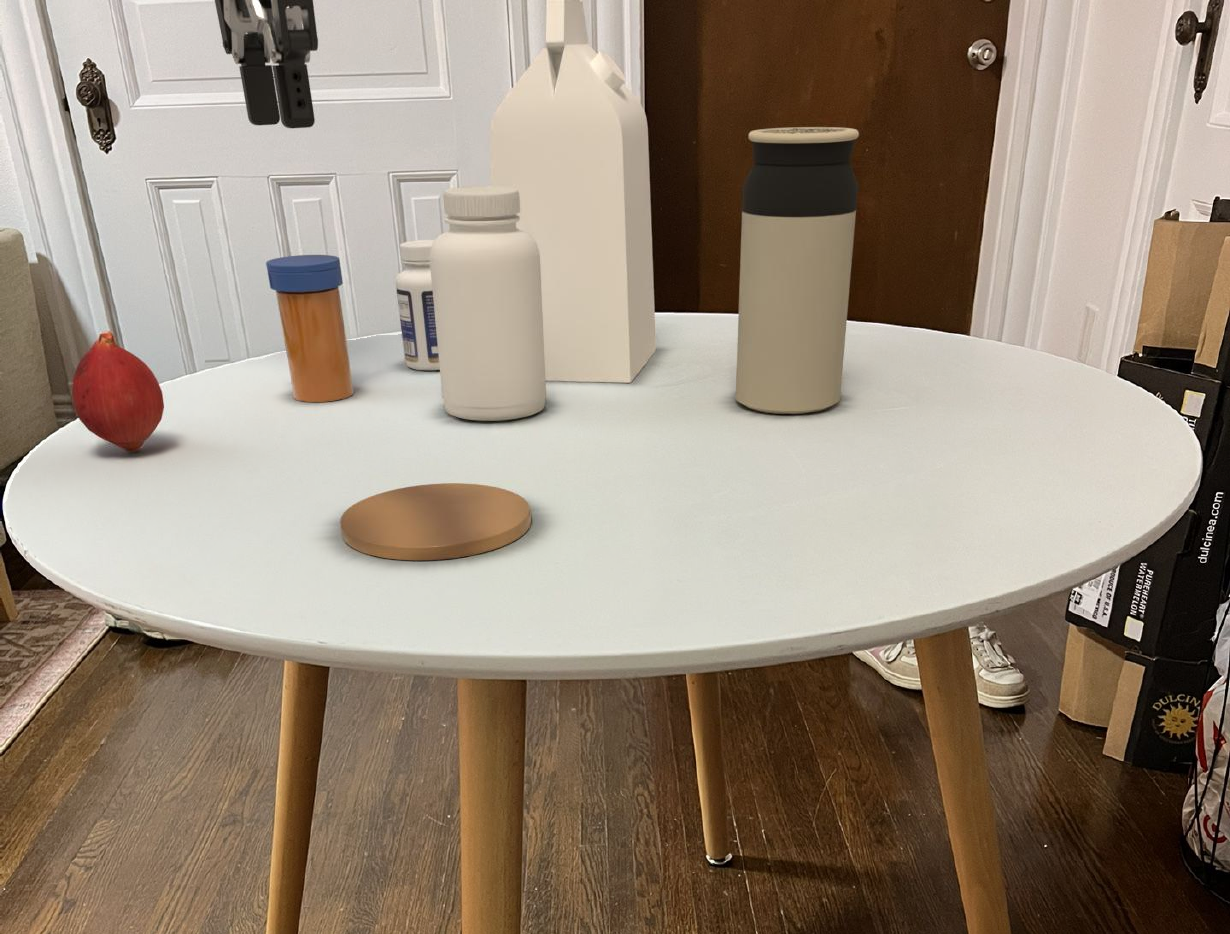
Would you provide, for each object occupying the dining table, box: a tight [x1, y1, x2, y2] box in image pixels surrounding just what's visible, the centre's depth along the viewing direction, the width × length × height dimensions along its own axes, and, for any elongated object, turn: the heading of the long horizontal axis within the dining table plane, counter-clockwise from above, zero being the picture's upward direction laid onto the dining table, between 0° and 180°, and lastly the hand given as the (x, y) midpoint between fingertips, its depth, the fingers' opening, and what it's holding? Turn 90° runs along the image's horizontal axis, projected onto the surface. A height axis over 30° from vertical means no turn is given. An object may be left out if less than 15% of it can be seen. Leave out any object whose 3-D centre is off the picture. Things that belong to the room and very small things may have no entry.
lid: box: [265, 254, 344, 292], centre depth 89 cm, size 6×6×2 cm
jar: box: [275, 286, 355, 403], centre depth 91 cm, size 5×5×9 cm
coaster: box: [339, 482, 532, 561], centre depth 67 cm, size 11×11×1 cm
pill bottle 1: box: [395, 239, 440, 371], centre depth 99 cm, size 5×5×10 cm
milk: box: [488, 0, 657, 384], centre depth 94 cm, size 12×12×26 cm
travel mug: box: [735, 126, 860, 415], centre depth 84 cm, size 8×8×18 cm
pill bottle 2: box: [430, 185, 547, 422], centre depth 85 cm, size 8×8×15 cm
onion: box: [71, 330, 165, 453], centre depth 79 cm, size 6×6×8 cm
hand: (281, 125), depth 83 cm, fingers open, 6 cm apart
